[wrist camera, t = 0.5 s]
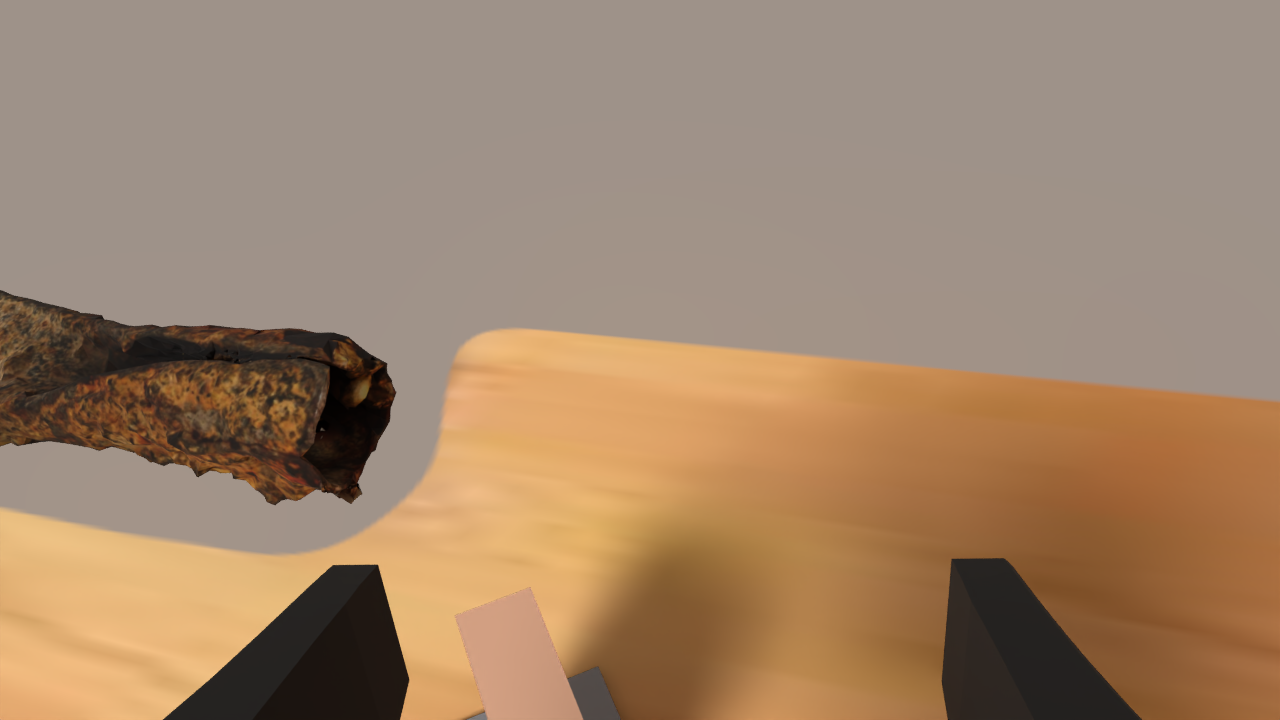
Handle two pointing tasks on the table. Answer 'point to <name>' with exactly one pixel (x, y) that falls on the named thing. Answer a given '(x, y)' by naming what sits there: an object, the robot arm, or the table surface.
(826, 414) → the table surface
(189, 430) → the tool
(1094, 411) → the table surface
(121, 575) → the table surface
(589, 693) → the mat
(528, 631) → the domino
